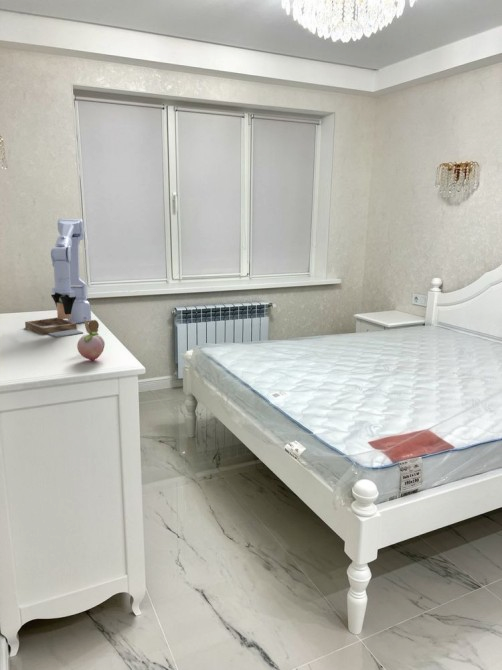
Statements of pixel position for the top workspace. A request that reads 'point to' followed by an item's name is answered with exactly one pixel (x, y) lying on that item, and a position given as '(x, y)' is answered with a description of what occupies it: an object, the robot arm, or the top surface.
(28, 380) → the top surface
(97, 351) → the decorative fruit
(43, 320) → the frame
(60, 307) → the terracotta pot
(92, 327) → the snail figurine
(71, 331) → the mat
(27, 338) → the top surface
